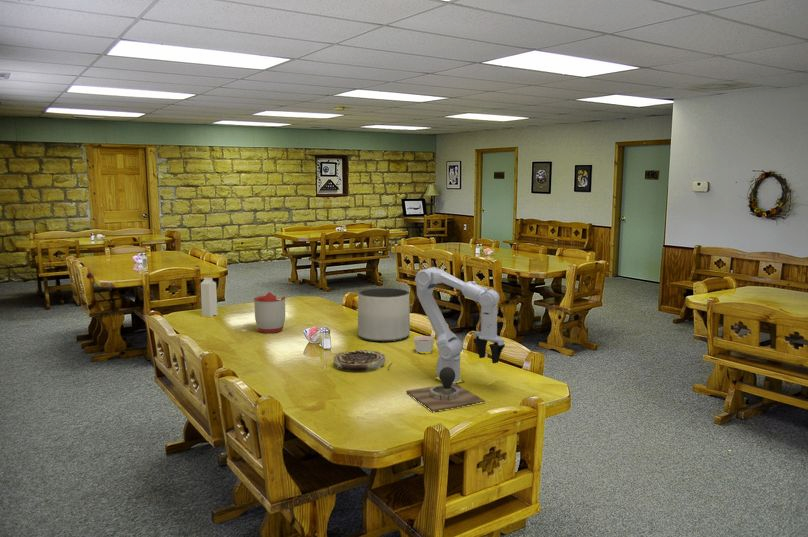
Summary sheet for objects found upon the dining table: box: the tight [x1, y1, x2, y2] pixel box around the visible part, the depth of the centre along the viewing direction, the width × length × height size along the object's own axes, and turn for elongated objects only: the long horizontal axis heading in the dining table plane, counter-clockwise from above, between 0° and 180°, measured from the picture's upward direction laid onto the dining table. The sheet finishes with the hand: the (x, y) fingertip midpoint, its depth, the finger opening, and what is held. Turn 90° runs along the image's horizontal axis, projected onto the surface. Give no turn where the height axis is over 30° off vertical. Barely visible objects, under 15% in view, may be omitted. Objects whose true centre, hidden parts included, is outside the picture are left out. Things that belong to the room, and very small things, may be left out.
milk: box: [200, 276, 218, 316], centre depth 333 cm, size 6×6×22 cm
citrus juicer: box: [253, 291, 286, 334], centre depth 301 cm, size 16×17×20 cm
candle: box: [413, 335, 435, 353], centre depth 263 cm, size 9×9×6 cm
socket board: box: [405, 383, 486, 412], centre depth 207 cm, size 20×20×1 cm
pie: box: [333, 349, 389, 373], centre depth 244 cm, size 28×27×5 cm
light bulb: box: [439, 367, 455, 394], centre depth 206 cm, size 6×6×10 cm
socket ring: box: [430, 384, 459, 401], centre depth 206 cm, size 10×10×2 cm
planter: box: [357, 287, 411, 342], centre depth 289 cm, size 25×25×22 cm
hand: (488, 360), depth 216 cm, fingers open, 7 cm apart
